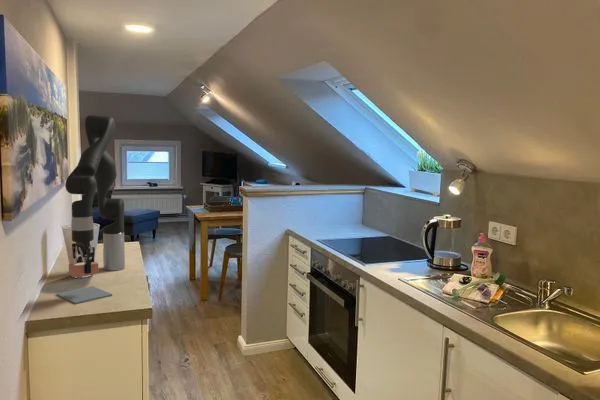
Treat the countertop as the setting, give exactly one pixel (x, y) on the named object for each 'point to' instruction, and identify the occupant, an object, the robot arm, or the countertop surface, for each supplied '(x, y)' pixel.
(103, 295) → the mat
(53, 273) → the countertop surface
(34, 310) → the countertop surface
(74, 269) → the card box
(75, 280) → the countertop surface
